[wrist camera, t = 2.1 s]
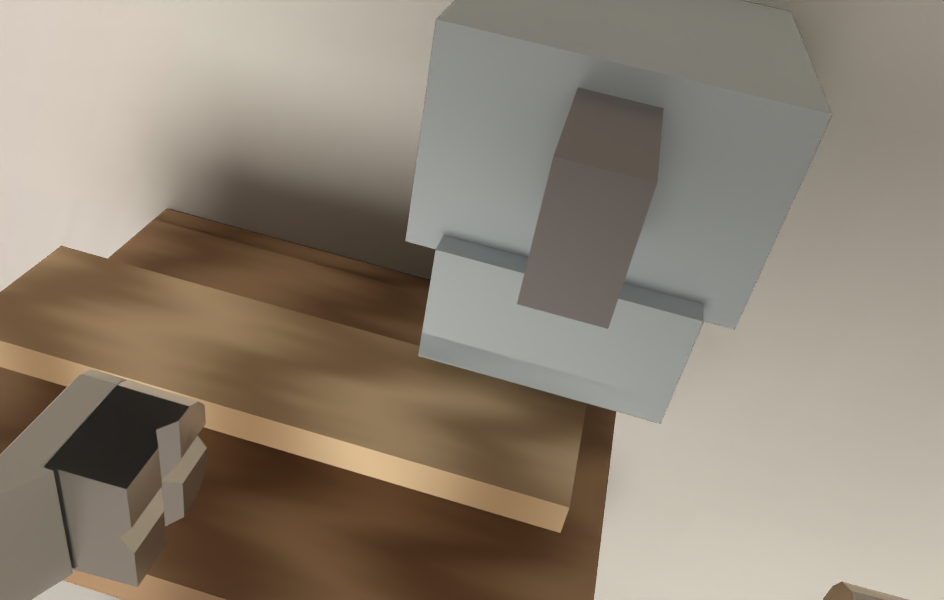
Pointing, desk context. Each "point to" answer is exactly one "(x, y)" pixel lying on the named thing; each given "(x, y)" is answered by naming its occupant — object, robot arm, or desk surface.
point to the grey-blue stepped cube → (604, 184)
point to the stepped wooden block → (315, 424)
